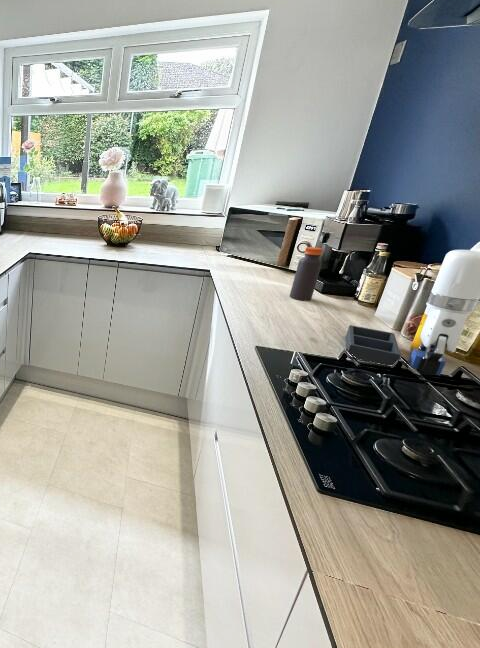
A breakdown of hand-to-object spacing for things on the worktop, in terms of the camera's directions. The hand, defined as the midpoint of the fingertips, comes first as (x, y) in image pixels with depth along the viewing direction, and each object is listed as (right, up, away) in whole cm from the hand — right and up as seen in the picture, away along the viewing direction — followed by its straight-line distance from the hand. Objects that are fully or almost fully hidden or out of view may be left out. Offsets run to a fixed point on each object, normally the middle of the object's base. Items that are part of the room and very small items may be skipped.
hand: (423, 369), depth 101 cm
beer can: (+11, +2, +10) cm, 15 cm away
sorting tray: (-1, +3, +12) cm, 13 cm away
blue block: (0, -1, 0) cm, 1 cm away
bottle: (+16, +19, +56) cm, 62 cm away
